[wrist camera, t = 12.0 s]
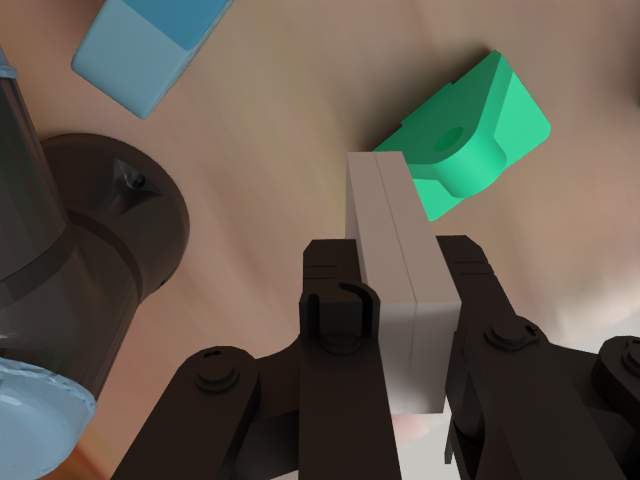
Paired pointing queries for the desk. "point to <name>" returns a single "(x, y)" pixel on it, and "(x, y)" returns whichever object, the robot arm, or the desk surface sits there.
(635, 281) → the desk surface
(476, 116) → the camera mount
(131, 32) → the data package
